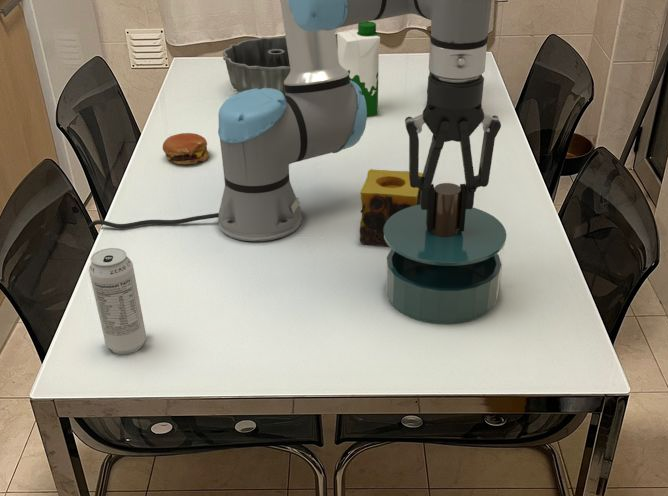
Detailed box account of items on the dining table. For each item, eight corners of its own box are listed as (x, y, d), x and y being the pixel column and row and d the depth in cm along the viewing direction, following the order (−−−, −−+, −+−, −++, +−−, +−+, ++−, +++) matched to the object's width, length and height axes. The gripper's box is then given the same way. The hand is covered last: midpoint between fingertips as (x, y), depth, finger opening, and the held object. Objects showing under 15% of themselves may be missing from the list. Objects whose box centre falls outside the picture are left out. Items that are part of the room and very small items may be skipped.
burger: (173, 147, 183) (170, 127, 180) (214, 149, 182) (211, 129, 179) (158, 166, 175) (155, 145, 173) (201, 168, 174) (199, 147, 171)
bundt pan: (287, 67, 226) (285, 29, 220) (351, 91, 210) (351, 50, 204) (206, 90, 213) (201, 50, 207) (267, 117, 196) (264, 75, 191)
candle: (416, 249, 145) (418, 197, 139) (359, 245, 147) (358, 193, 141) (422, 222, 153) (425, 171, 147) (368, 218, 155) (368, 168, 149)
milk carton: (382, 116, 196) (383, 28, 184) (346, 121, 194) (344, 32, 182) (370, 103, 202) (370, 18, 191) (334, 108, 200) (332, 22, 189)
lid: (385, 270, 121) (387, 219, 116) (381, 209, 135) (382, 162, 130) (514, 269, 120) (521, 218, 115) (495, 208, 135) (501, 161, 130)
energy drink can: (149, 331, 127) (133, 244, 118) (144, 355, 122) (127, 266, 113) (109, 333, 126) (90, 246, 118) (103, 357, 122) (82, 268, 113)
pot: (389, 325, 127) (389, 291, 123) (384, 265, 141) (384, 234, 137) (505, 323, 126) (509, 290, 123) (488, 264, 140) (492, 232, 137)
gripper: (394, 84, 110) (389, 240, 124) (524, 82, 109) (505, 239, 124) (391, 65, 116) (387, 216, 130) (515, 63, 115) (497, 215, 130)
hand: (444, 226), depth 127 cm, fingers closed on lid, 4 cm apart
